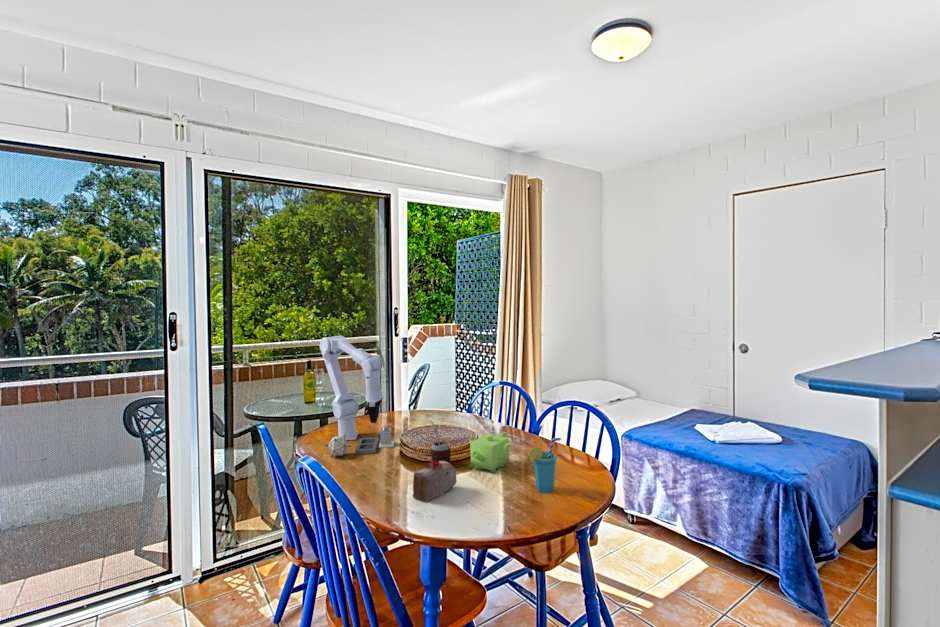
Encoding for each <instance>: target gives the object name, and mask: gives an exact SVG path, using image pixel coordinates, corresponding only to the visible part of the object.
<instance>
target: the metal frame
mask: <svg viewBox="0 0 940 627" xmlns="http://www.w3.org/2000/svg"><path fill="white" fill-rule="evenodd" d="M379 440H380V439H379V437H378V436H377V437H367V438H366V437H363V438H359V439H358V443H357V445H356V447H355V450H354V451H355V452H354V453H355V456H356V455H358V456H359V455H370V454H371V455H372V454H376V453H377V449H378V447H379V443H380V441H379Z"/></svg>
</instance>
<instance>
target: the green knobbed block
mask: <svg viewBox="0 0 940 627" xmlns="http://www.w3.org/2000/svg"><path fill="white" fill-rule="evenodd" d="M505 433H506V431H502V432H501V433H500V434H499V436H498V435H492V434H488V433H487V434H485V435H483V436H481V437H478V438H476V439H470V440H468V442H469V444H470V446H469V448H470V449H469V450H470V466H471V467H475V468H476V470H483V469H484V470H489V473H496V472H497V469H499V468H504V467H505V464H506V463H508V462H510V446H512V445H514V443H512V442H510V440H509V437H505Z"/></svg>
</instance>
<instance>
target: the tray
mask: <svg viewBox="0 0 940 627" xmlns="http://www.w3.org/2000/svg"><path fill="white" fill-rule="evenodd" d="M391 441H392V442H391V445H383V446H381V441H379V442H378V448H379V449H381V448H394V447H395V441H396V440H391Z"/></svg>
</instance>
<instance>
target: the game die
mask: <svg viewBox="0 0 940 627" xmlns="http://www.w3.org/2000/svg"><path fill="white" fill-rule="evenodd" d="M345 436H346V435H345ZM345 436H339V435H335V434H332V438H331V440H329V442H328V444H325V445H324V446H325V447H327V448H328V450H329V453H330V454H331V455H330V458H332V457H334V456H339V457H340V456H341V457H342V458H345V456H344V455H345V453H346V452H347V450H348V449H349V448H351V447H352V446H351V445H349V443H348V440H346V438H345Z"/></svg>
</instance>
